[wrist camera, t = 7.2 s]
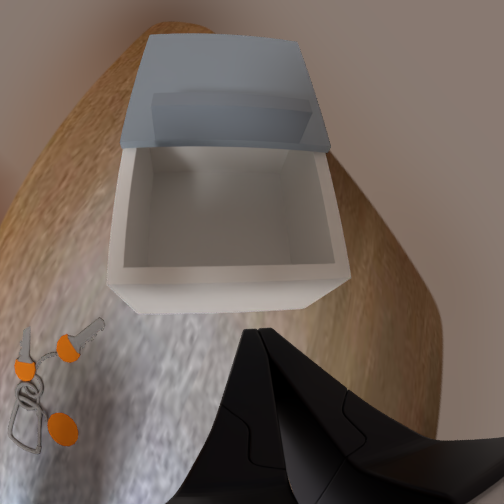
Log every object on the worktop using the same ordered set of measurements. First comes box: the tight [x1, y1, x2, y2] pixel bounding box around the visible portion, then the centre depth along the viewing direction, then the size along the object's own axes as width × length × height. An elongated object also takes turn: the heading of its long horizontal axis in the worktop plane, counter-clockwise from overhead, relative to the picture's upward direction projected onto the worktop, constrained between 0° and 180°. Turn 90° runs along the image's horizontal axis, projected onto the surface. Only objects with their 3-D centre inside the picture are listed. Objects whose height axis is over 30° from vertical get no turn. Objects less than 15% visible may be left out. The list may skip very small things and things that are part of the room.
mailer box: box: [107, 146, 351, 314], centre depth 20 cm, size 12×12×8 cm
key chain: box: [8, 317, 105, 454], centre depth 18 cm, size 13×7×1 cm, turn 166°
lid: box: [120, 34, 331, 153], centre depth 18 cm, size 12×12×3 cm
